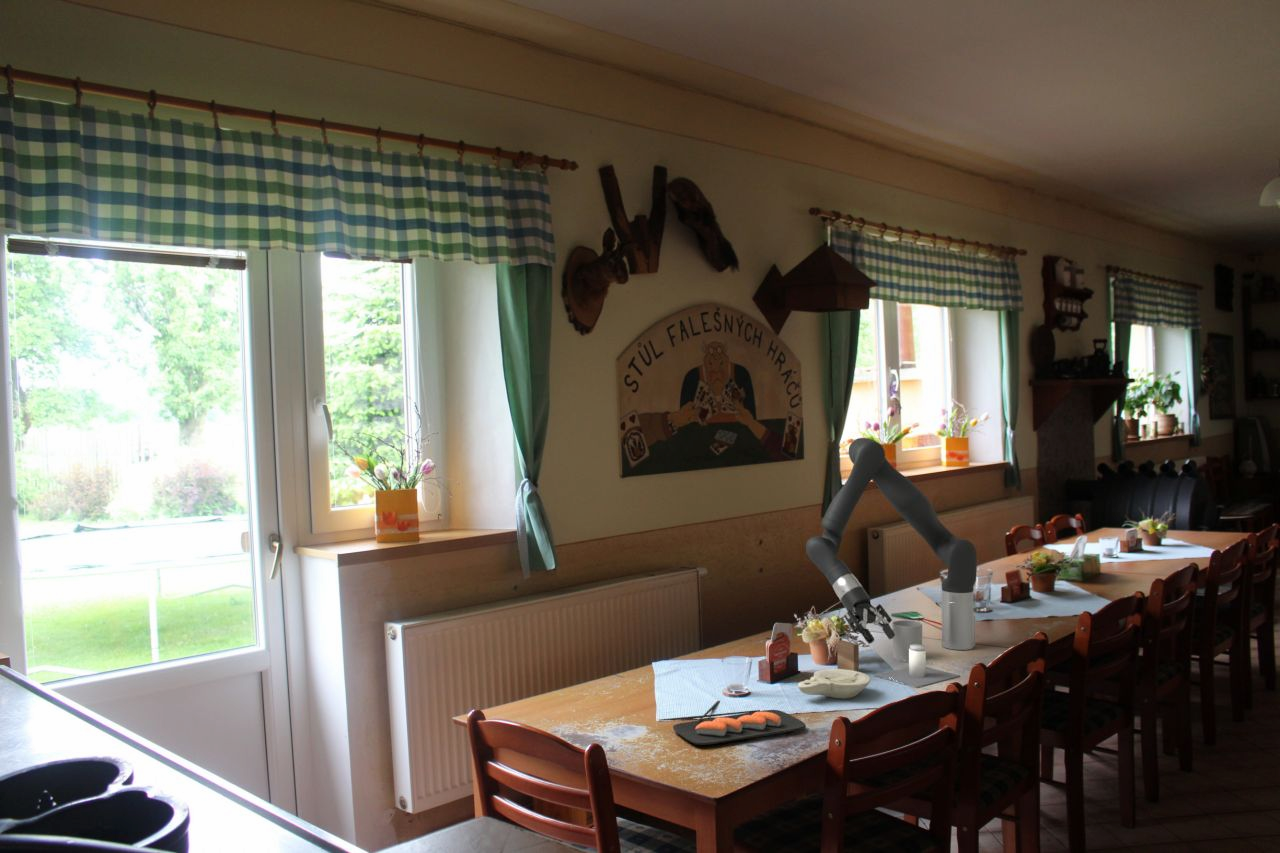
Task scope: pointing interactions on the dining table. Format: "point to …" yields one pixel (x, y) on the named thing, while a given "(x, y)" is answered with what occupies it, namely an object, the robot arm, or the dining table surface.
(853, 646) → the brown flat rectangular block
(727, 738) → the sushi plate
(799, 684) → the oil lamp
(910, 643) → the cup
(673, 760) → the dining table surface
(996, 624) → the dining table surface
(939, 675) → the felt mat
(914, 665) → the sugar shaker
